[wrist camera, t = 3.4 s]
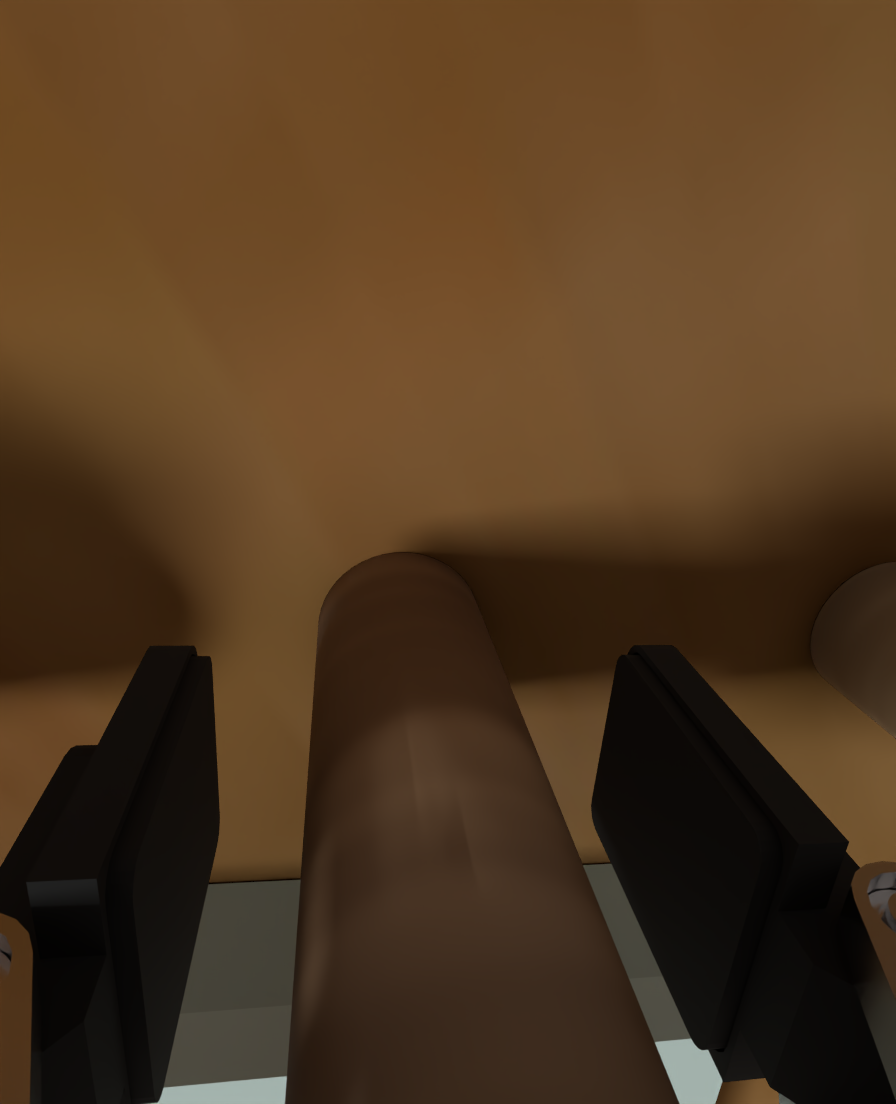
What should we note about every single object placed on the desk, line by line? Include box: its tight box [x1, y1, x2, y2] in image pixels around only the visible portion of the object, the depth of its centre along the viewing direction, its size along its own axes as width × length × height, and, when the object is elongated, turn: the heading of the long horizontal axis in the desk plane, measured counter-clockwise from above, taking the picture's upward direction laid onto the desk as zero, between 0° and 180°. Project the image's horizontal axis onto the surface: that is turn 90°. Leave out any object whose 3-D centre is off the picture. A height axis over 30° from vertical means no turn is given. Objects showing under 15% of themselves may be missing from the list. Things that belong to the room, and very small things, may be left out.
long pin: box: [285, 553, 680, 1104], centre depth 9 cm, size 3×3×10 cm
